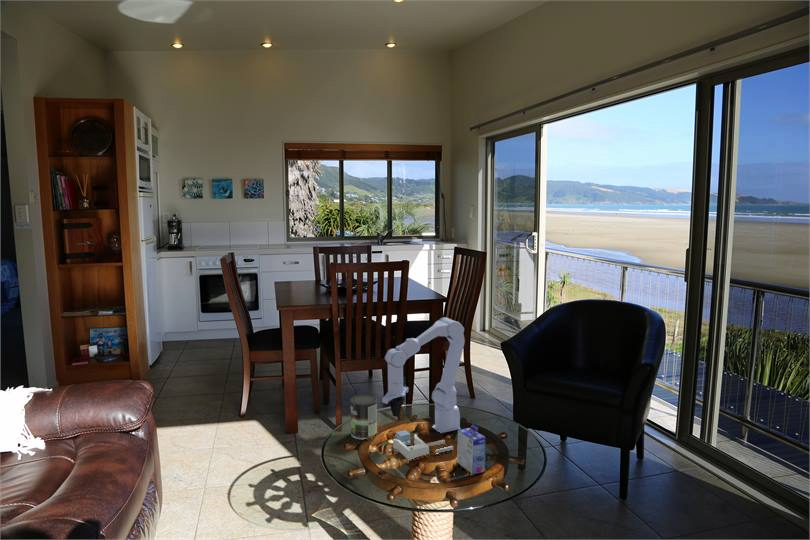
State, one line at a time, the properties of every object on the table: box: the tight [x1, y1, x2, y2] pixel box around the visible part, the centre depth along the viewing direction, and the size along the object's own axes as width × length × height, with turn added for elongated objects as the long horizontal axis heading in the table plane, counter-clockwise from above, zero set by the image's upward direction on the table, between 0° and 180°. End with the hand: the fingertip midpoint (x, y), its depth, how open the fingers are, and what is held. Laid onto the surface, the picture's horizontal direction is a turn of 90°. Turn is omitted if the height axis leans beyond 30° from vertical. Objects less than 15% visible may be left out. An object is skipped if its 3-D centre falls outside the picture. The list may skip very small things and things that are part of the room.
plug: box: [395, 429, 412, 447], centre depth 212 cm, size 4×5×5 cm
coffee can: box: [349, 394, 378, 441], centre depth 222 cm, size 10×10×14 cm
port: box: [392, 434, 430, 461], centre depth 206 cm, size 10×11×4 cm
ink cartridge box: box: [456, 424, 487, 475], centre depth 194 cm, size 10×6×14 cm, turn 27°
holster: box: [426, 439, 454, 453], centre depth 208 cm, size 7×7×2 cm
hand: (395, 415), depth 217 cm, fingers closed
